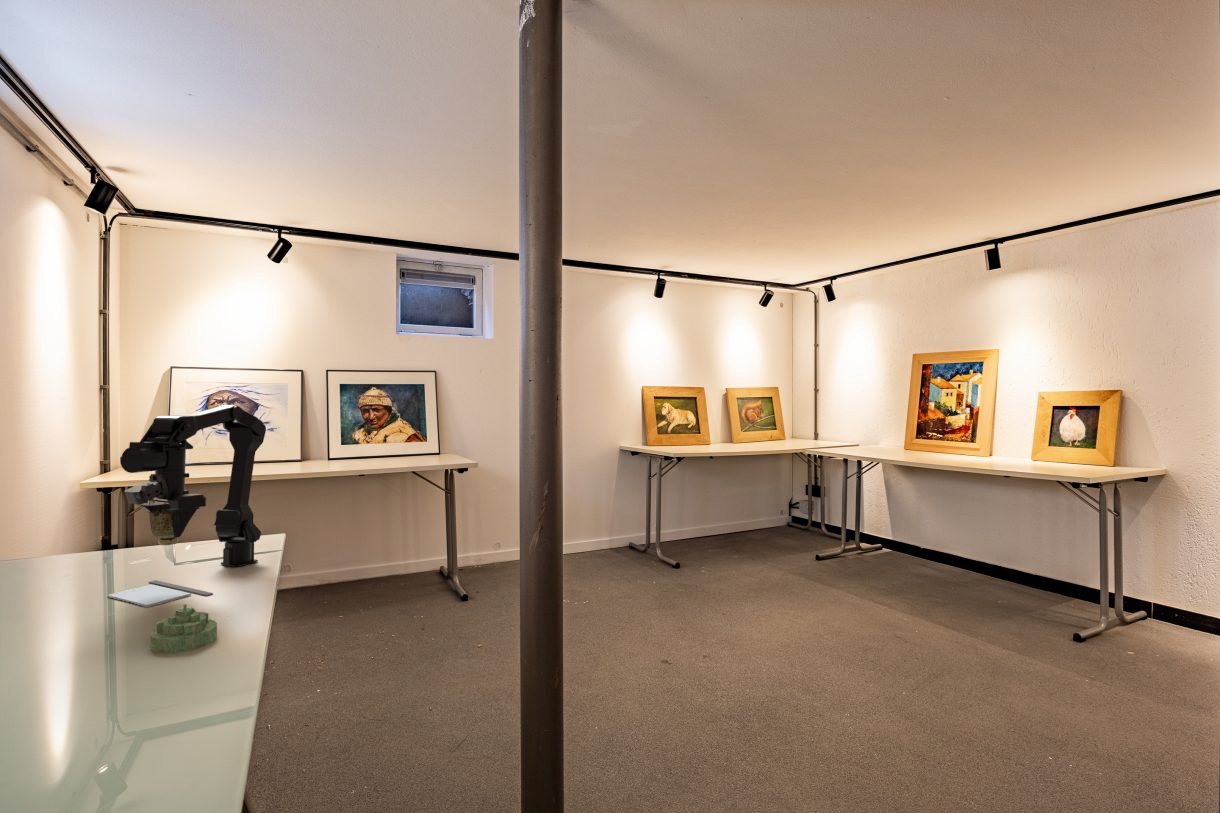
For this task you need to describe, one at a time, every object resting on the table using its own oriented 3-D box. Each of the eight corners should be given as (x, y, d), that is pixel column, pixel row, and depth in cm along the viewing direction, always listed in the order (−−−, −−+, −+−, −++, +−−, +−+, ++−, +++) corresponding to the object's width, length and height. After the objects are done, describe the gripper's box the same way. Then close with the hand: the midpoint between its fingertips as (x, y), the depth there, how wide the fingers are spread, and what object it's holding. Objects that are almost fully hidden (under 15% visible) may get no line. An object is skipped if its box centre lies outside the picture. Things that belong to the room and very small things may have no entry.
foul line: (155, 581, 147) (155, 580, 147) (212, 594, 138) (212, 593, 138) (148, 583, 146) (148, 581, 146) (206, 596, 137) (206, 594, 137)
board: (151, 586, 144) (151, 584, 144) (190, 595, 137) (190, 593, 137) (107, 597, 135) (107, 594, 135) (147, 607, 129) (147, 605, 129)
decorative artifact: (168, 634, 115) (138, 655, 105) (168, 597, 115) (138, 615, 105) (226, 631, 117) (201, 651, 107) (226, 595, 117) (202, 612, 107)
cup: (195, 541, 145) (196, 508, 145) (169, 548, 137) (170, 513, 138) (166, 540, 146) (167, 507, 146) (139, 547, 138) (140, 512, 138)
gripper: (107, 469, 138) (105, 537, 138) (156, 474, 131) (154, 546, 130) (160, 466, 149) (158, 530, 148) (208, 470, 141) (206, 537, 140)
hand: (168, 535), depth 142 cm, fingers closed on cup, 7 cm apart
